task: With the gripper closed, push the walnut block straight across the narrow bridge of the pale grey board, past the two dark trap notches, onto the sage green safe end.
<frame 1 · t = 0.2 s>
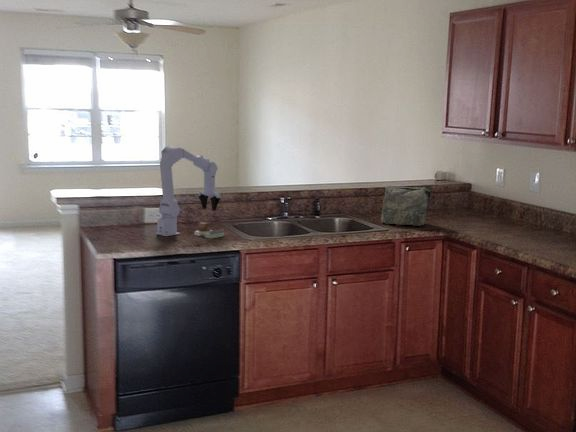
hand: (209, 209, 354), 10 cm above the worktop, tool pointing down, fingers open, 7 cm apart
walnut block: (204, 230, 338), point 2 cm above the worktop, touching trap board
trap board: (209, 235, 336), on the worktop
lunch bag: (404, 224, 386), on the worktop
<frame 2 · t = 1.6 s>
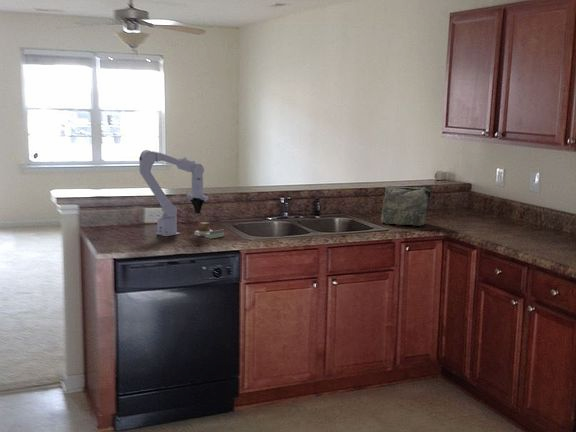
hand: (197, 213, 341), 10 cm above the worktop, tool pointing down, fingers closed
nothing on the worktop moved.
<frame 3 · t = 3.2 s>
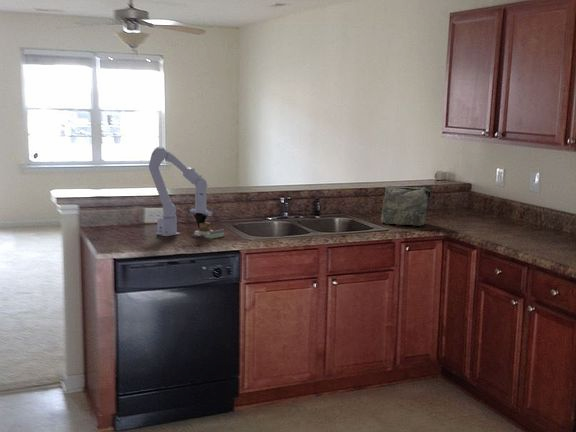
hand: (200, 228, 340), 3 cm above the worktop, tool pointing down, fingers closed
walnut block: (205, 230, 338), point 2 cm above the worktop, touching gripper, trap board
everything else where it was.
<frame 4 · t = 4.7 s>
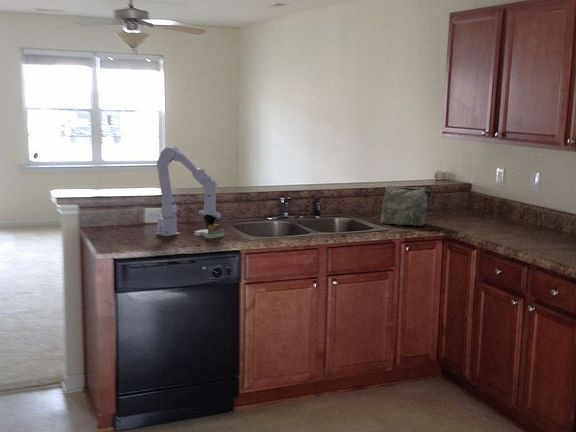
hand: (209, 230, 336), 3 cm above the worktop, tool pointing down, fingers closed
walnut block: (213, 232, 334), point 2 cm above the worktop, touching gripper, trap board
everything else where it was.
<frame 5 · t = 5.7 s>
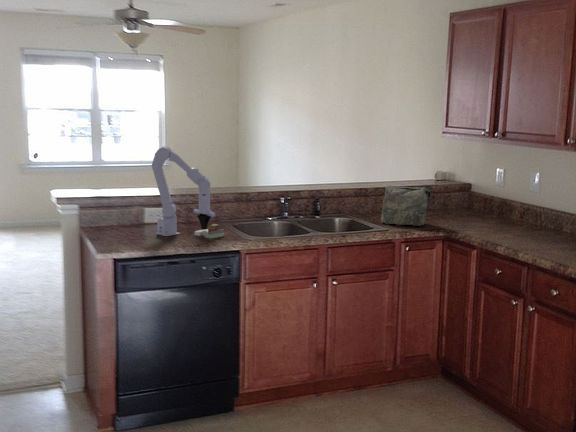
hand: (204, 229, 338), 3 cm above the worktop, tool pointing down, fingers closed
walnut block: (213, 232, 334), point 2 cm above the worktop, touching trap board
everything else where it was.
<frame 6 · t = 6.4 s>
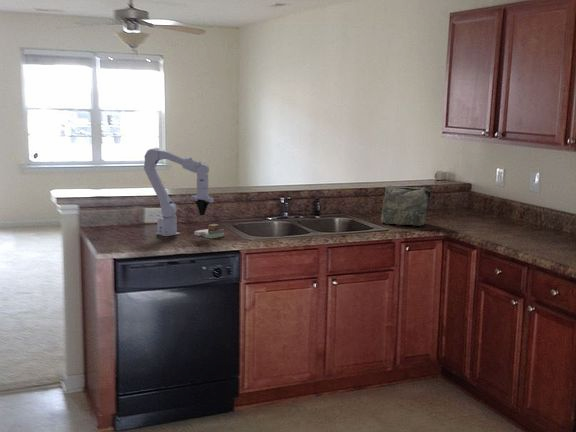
hand: (202, 215, 335), 10 cm above the worktop, tool pointing down, fingers closed
nothing on the worktop moved.
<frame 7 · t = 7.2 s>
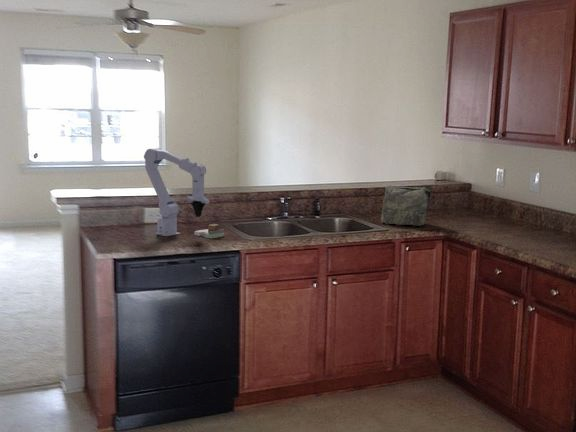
hand: (198, 216, 330), 10 cm above the worktop, tool pointing down, fingers closed
nothing on the worktop moved.
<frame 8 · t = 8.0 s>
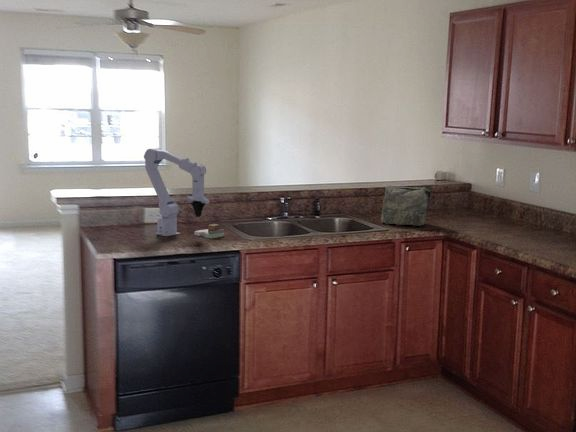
hand: (198, 216, 330), 10 cm above the worktop, tool pointing down, fingers closed
nothing on the worktop moved.
at the end: walnut block 0.1 cm from the target spot on the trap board, point 2.0 cm above the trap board's base; walnut block tilted 0°; walnut block moved 7.2 cm from its start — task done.
